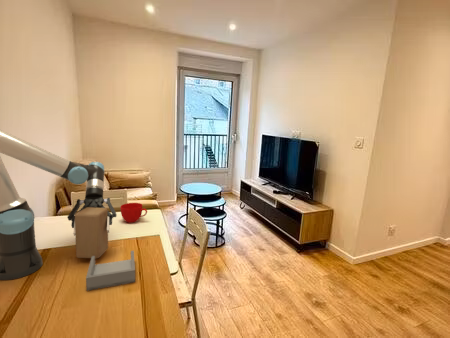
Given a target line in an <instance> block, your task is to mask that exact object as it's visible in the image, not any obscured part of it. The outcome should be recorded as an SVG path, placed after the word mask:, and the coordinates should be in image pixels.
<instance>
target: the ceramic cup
mask: <svg viewBox="0 0 450 338" xmlns="http://www.w3.org/2000/svg"><path fill="white" fill-rule="evenodd" d="M119 207H120V209H119V210H120V214H121V216H122V218H123V220H124V221H125V222H126V223H128V224H131V223H132V224H133V223H136V222H138V221H139V219H141V218H143V217H145V216H146V215H147V213H148V210H147V208H143V204H142V203H140V202H139V203H138V202H128V203H127V202H126V203H123V204H121V205H120V206H119ZM143 211H145V213H144V214H142V213H143Z"/></svg>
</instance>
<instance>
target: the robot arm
mask: <svg viewBox="0 0 450 338" xmlns="http://www.w3.org/2000/svg"><path fill="white" fill-rule="evenodd" d="M0 153H1V154H3V155H6V156H8V157H11V158H12V159H15V160H18V161H20V162H22V163H25V164H28V165H29V166H33V167H35V168H38V169H41V170H42V171H45V172H48V173H49V174H53V175H55V176H57V177H60V178H62V179H65V180H67V181H69V182H70V183H72V184H73V185H82V184H84V183H86V186H85V195H84V196H85V197H84V199H83V200H81V199H79V198H78V199H76V203H75V205H74V206H73V208H72V209H71V210H70V213H69V214H68V215H67V220H68V221H69V222H70V221H71V224H70V225H71V228H72V229H73V231H72V234H73V236H74V237H76V235H75V214H76V213H77V211H78V212H79V211H81V210H83V209H84V208H86V207H94V208H106V207H105V205H103V204H104V203H105V204H107V207H108V209H109V210H110V211H109V210H108V217H107V233H108V234H109V233H110V226H112V224H113V219H114V218H116V217H117V212H116V209H115V208H114V207H113V205H112V203H111V198H110V197H107V198H104V183H105V182H104V180H105V166H104V164H103V163H102V162H100V161H92V162H90V163H89V164H83V163H80V162H75V161H71V160H68V159H65V158H63V157H61V156H59V155H57V154H55V153H52V152H50V151H48V150H46V149H44V148H41V147H39V146H37V145H34V144H33V143H31V142H28V141H26V140H23V139H21V138H20V137H17V136H15V135H12V134H11V133H9V132H6V131H4V130H1V129H0ZM9 174H10V173H9V172H8V170H7V168H6V166H5V163H4V162H3V159H2V158H1V156H0V280H1V281H9V280H16V279H19V278H23V277H26V276H29V275H31V274H33V273H35V272H37V271H38V270H40V269H41V268H40V267H42V266H43V263H44V262H43V258H42V255H41V254H40V252H39V250H38V249H37V245H36V243H37V242H36V234H35V233H36V232H35V213H34V210H33V209H32V207H30V205H29V203H28V201H27V199H26V198H23V197H21V196H20V195H19V193H18V190H17V189H16V188H17V187H16V186H15V185H14V182H13V180H12V178H11V176H10V175H9ZM83 204H84V205H83ZM82 205H83V206H82ZM81 206H82V207H81ZM80 207H81V209H80Z"/></svg>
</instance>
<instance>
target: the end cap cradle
mask: <svg viewBox="0 0 450 338" xmlns="http://www.w3.org/2000/svg"><path fill="white" fill-rule="evenodd" d="M85 276H86V277H85V282H86V283H85V284H86V287H85V288H86V291H87V292H89V291H94V290H98V288H100V289H105V287H106V288H111V287H115V286H116V287H117V286H122V285H126V284H133V283H136V263H135V251H134V250H130V259H124V260H118V261H110V262H103V263H98V264H96V258H95V256H92V257H91V258H90V261H89V265H88V269H87V274H86V275H85ZM121 284H122V285H121ZM93 289H94V290H93ZM88 290H89V291H88Z"/></svg>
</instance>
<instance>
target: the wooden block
mask: <svg viewBox="0 0 450 338" xmlns="http://www.w3.org/2000/svg"><path fill="white" fill-rule="evenodd" d="M78 211H79V210H78ZM108 211H109V210H108V208H107V207H105V208H94V207H86V208H84V209H83V210H81V211H79V212H76V213H75V235H76V236H75V255H76V258H83V259H91V257H92V256H95V259H99V258H101V256H102V255H103V254H105V253H106V251H107V250H108V248H109V233H107V217H108Z"/></svg>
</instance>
